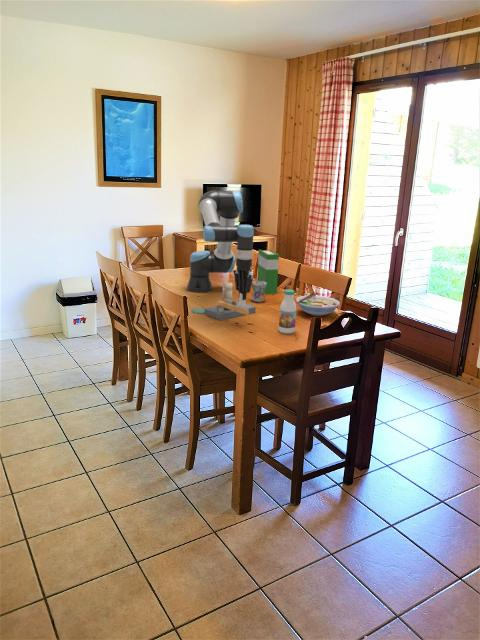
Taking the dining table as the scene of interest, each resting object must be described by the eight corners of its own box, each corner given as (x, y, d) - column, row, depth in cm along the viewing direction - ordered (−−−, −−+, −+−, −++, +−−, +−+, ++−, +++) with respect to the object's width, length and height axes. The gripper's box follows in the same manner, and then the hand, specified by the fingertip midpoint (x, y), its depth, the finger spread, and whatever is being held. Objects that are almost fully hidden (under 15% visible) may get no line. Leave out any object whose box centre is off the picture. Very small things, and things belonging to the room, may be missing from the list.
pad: (187, 310, 263) (187, 309, 263) (201, 308, 269) (201, 307, 269) (198, 315, 257) (198, 313, 257) (212, 312, 263) (212, 311, 262)
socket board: (204, 314, 259) (204, 303, 257) (239, 306, 274) (239, 296, 272) (220, 320, 250) (220, 309, 248) (255, 312, 265) (255, 302, 263)
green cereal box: (256, 286, 319) (258, 249, 312) (267, 286, 321) (270, 249, 314) (264, 294, 303) (267, 254, 296) (276, 293, 305) (279, 254, 297)
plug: (213, 312, 263) (214, 282, 258) (227, 309, 269) (228, 280, 264) (225, 316, 256) (226, 286, 251) (239, 313, 262) (241, 283, 257)
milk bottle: (277, 328, 241) (279, 288, 235) (293, 328, 241) (296, 288, 235) (279, 333, 233) (282, 292, 227) (296, 334, 234) (299, 292, 228)
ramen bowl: (327, 324, 251) (329, 308, 248) (286, 315, 262) (287, 300, 259) (345, 312, 271) (347, 298, 268) (306, 305, 282) (308, 291, 280)
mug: (267, 303, 283) (268, 284, 280) (251, 303, 282) (252, 284, 279) (264, 297, 295) (264, 279, 292) (248, 297, 294) (249, 279, 290)
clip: (221, 304, 256) (221, 300, 255) (250, 314, 242) (250, 309, 241) (216, 305, 253) (216, 301, 253) (245, 315, 239) (245, 311, 239)
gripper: (229, 256, 240) (227, 303, 248) (247, 261, 231) (245, 310, 239) (240, 254, 245) (239, 301, 253) (259, 259, 236) (256, 307, 243)
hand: (242, 305), depth 246 cm, fingers closed
